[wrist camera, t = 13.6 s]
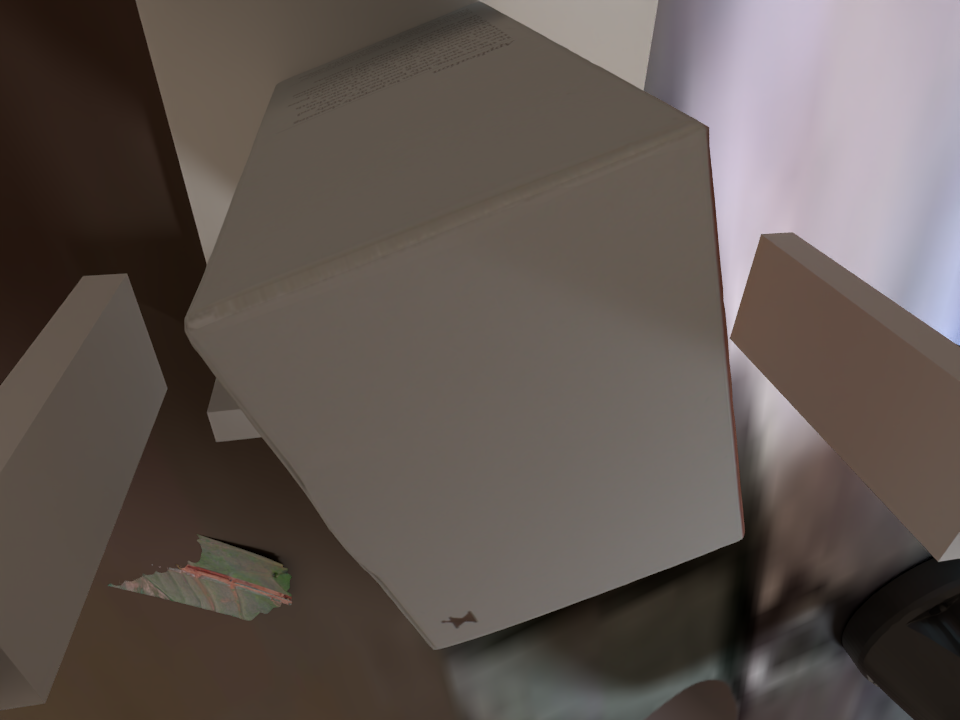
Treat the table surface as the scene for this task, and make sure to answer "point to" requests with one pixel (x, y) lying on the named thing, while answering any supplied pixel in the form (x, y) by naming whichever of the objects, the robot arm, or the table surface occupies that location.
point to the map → (221, 582)
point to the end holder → (301, 47)
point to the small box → (482, 321)
